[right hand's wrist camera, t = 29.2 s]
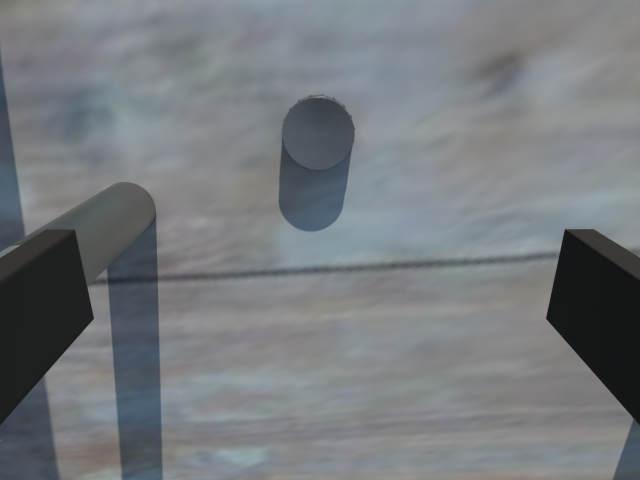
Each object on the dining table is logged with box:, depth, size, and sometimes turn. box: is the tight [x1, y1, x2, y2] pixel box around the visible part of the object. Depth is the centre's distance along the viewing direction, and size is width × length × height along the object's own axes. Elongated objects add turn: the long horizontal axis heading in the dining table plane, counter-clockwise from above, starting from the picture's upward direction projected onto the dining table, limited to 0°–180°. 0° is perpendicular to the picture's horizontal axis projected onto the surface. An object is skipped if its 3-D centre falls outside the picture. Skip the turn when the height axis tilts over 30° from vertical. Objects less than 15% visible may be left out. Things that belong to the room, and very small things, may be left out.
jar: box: [0, 182, 155, 286], centre depth 32 cm, size 5×5×16 cm
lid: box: [282, 95, 355, 170], centre depth 36 cm, size 6×6×2 cm
